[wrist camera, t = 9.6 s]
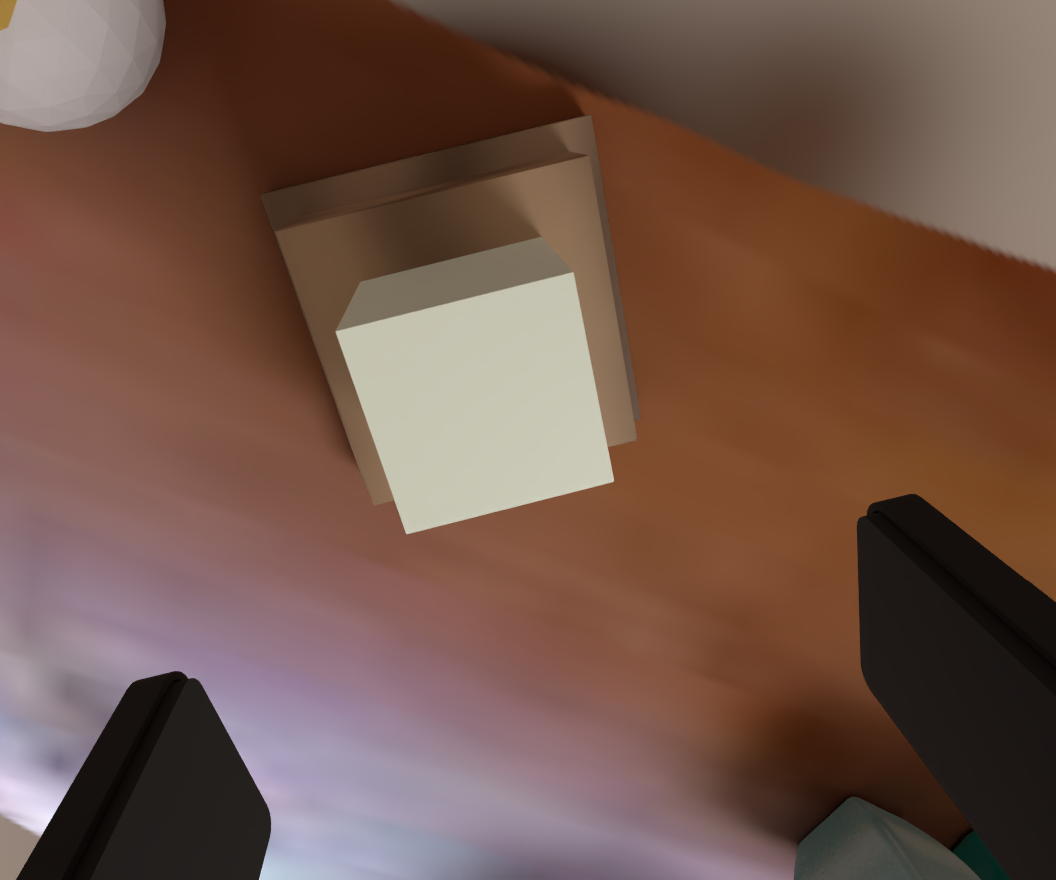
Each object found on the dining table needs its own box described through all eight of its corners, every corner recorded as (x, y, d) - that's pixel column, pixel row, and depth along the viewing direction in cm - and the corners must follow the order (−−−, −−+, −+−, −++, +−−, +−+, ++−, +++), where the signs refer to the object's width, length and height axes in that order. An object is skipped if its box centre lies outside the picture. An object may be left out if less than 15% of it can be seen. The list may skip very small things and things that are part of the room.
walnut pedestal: (584, 115, 26) (615, 113, 22) (633, 408, 31) (667, 457, 27) (267, 192, 26) (230, 206, 21) (368, 474, 31) (356, 534, 26)
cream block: (541, 236, 23) (573, 271, 17) (576, 404, 25) (614, 481, 20) (360, 281, 23) (335, 331, 17) (413, 445, 25) (406, 534, 20)
